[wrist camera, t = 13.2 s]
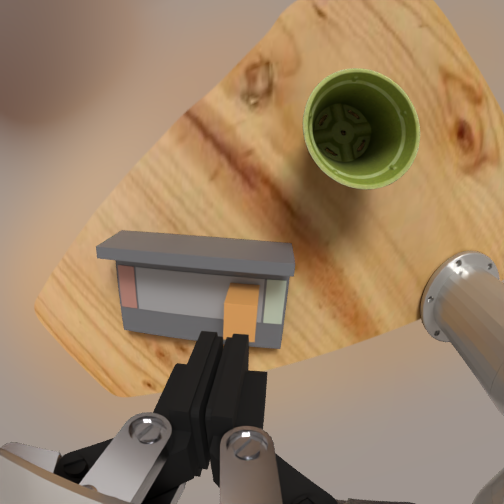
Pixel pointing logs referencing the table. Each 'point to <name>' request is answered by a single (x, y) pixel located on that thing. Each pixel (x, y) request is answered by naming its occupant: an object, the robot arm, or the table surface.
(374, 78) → the plant pot
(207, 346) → the robot arm
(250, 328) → the handle
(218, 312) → the switch panel
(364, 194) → the table surface
